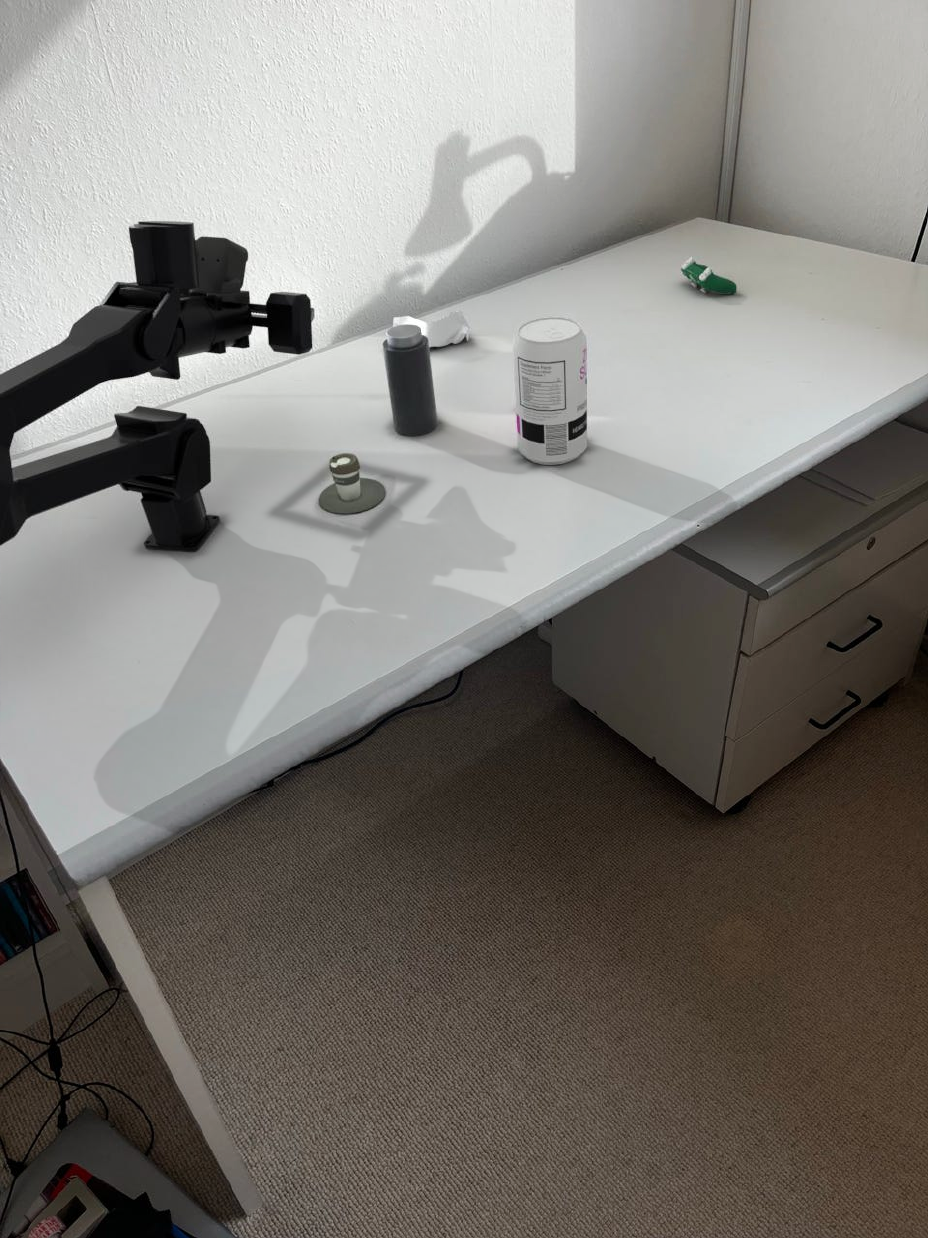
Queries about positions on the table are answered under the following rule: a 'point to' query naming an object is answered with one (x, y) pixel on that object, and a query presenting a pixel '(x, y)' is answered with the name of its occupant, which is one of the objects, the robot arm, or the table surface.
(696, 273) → the green toy car
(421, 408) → the flask
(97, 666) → the table surface
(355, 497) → the coffee cup
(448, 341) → the fabric
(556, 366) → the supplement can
